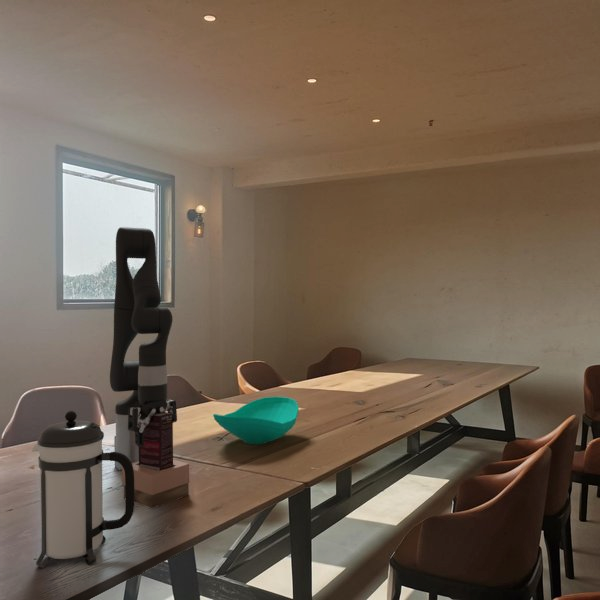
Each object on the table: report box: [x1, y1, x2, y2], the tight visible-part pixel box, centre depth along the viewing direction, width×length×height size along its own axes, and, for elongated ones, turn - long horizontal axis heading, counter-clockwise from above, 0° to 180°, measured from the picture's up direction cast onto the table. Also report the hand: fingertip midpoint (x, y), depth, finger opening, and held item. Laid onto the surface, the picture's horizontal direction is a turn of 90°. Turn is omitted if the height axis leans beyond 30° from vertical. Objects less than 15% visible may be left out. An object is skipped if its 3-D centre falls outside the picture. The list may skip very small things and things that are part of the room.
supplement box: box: [138, 411, 174, 471], centre depth 151 cm, size 9×5×16 cm, turn 59°
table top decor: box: [212, 396, 300, 445], centre depth 206 cm, size 40×28×13 cm
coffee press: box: [31, 410, 135, 569], centre depth 118 cm, size 17×16×30 cm
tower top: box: [121, 459, 190, 495], centre depth 150 cm, size 13×12×5 cm
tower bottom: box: [123, 482, 190, 509], centre depth 151 cm, size 12×12×4 cm
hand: (153, 442), depth 150 cm, fingers open, 8 cm apart
